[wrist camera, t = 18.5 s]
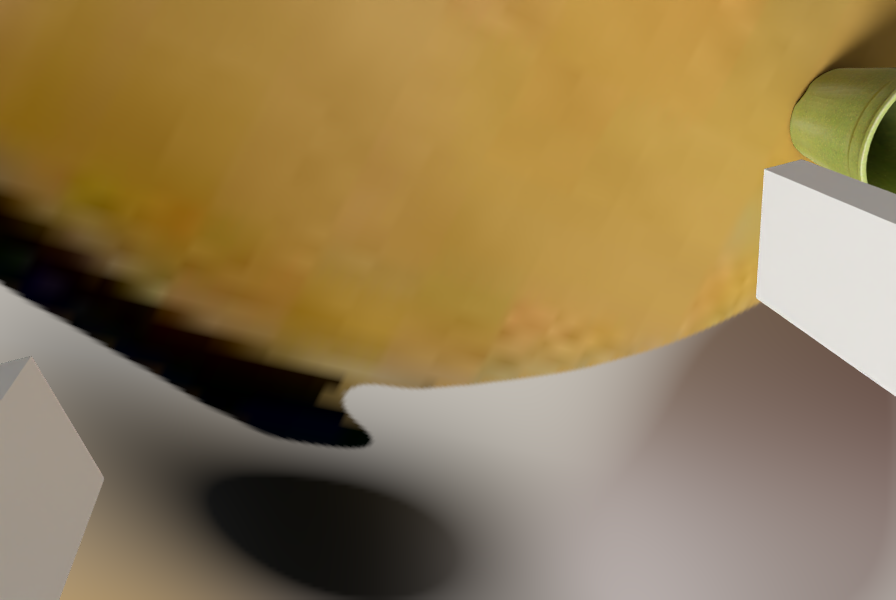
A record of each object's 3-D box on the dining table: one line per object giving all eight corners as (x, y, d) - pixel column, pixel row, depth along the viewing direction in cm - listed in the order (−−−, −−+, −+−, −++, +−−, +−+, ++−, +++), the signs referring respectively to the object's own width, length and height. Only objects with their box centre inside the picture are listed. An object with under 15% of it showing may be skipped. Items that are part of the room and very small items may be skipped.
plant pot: (769, 200, 46) (862, 245, 39) (760, 71, 42) (863, 93, 34) (887, 153, 47) (1001, 188, 39) (890, 19, 42) (1021, 30, 35)
